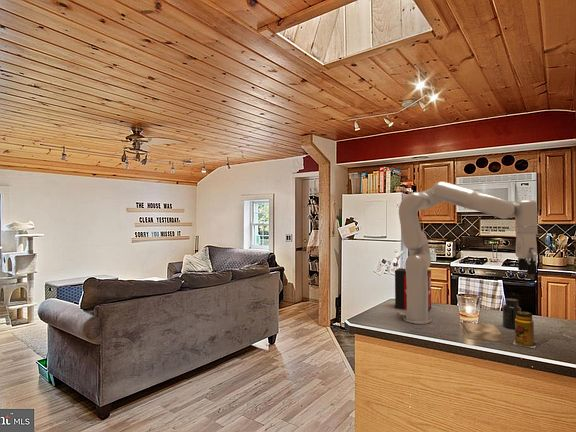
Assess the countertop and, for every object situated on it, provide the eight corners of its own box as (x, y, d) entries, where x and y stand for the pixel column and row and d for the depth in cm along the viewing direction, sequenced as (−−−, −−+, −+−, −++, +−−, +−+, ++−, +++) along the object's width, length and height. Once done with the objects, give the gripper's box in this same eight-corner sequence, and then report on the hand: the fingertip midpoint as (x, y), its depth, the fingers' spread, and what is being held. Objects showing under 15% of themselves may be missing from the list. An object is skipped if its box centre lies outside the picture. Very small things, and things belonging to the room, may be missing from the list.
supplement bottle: (523, 329, 157) (523, 301, 156) (506, 328, 158) (505, 301, 158) (517, 324, 163) (516, 298, 163) (500, 324, 165) (500, 297, 164)
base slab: (467, 338, 146) (467, 330, 146) (462, 329, 158) (462, 322, 158) (501, 341, 143) (501, 333, 143) (493, 331, 155) (493, 324, 154)
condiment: (512, 344, 140) (512, 313, 140) (515, 338, 146) (515, 308, 146) (535, 348, 135) (534, 316, 135) (537, 342, 142) (537, 311, 141)
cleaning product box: (395, 308, 193) (394, 270, 193) (399, 304, 201) (399, 268, 201) (428, 312, 185) (428, 272, 185) (431, 308, 193) (430, 270, 193)
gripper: (509, 229, 159) (509, 269, 159) (523, 231, 142) (524, 275, 142) (528, 229, 157) (529, 269, 157) (546, 231, 140) (546, 276, 140)
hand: (527, 272), depth 149 cm, fingers open, 9 cm apart
